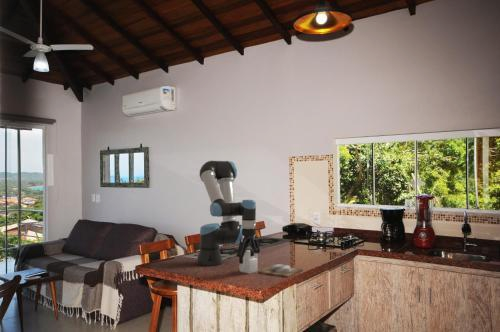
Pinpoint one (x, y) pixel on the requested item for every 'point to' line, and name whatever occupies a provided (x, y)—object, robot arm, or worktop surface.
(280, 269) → the stand
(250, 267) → the medicine bottle
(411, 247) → the worktop surface
